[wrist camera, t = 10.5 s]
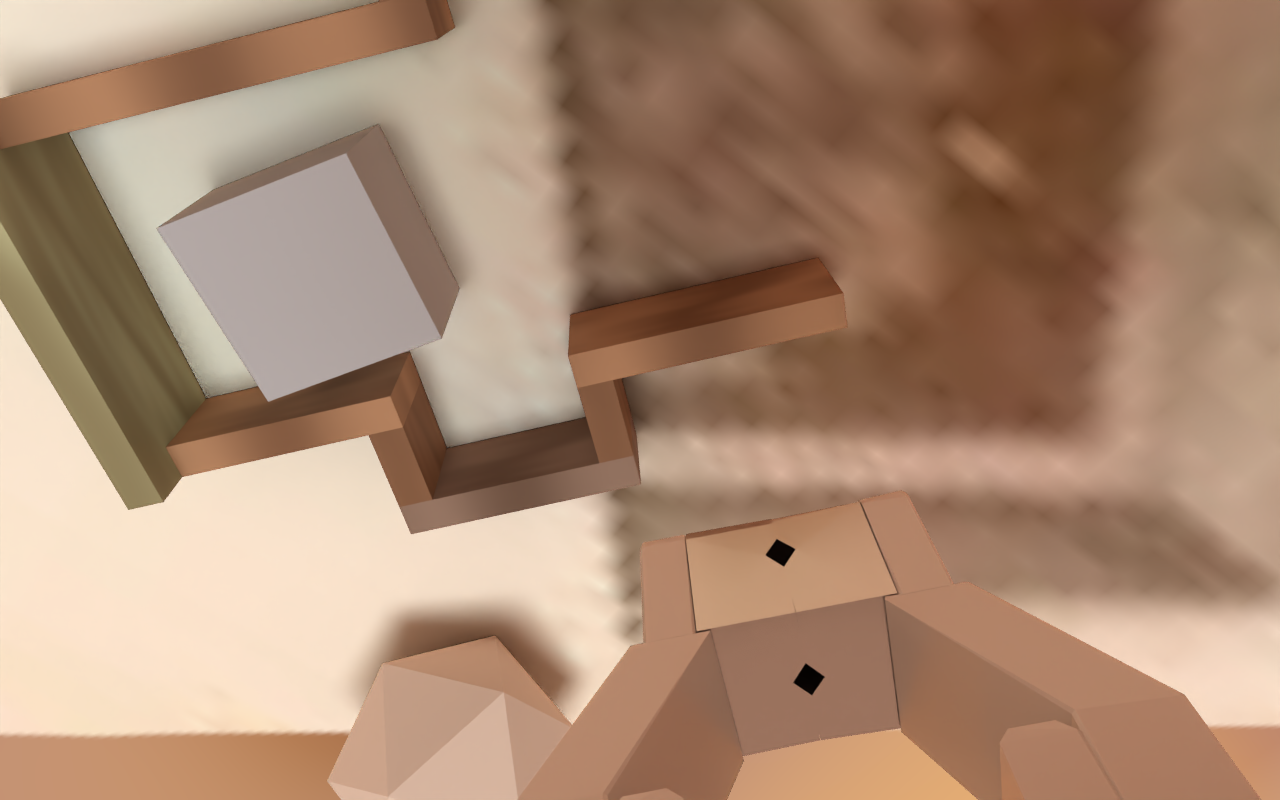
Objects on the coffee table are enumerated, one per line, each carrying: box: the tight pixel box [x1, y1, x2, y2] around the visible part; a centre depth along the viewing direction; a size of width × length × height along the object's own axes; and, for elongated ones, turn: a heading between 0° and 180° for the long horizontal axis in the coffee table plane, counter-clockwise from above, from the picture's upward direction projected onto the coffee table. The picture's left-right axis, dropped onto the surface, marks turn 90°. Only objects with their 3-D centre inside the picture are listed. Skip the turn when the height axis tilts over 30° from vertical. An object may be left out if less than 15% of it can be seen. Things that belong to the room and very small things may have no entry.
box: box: [0, 0, 847, 534], centre depth 27 cm, size 24×21×5 cm
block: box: [156, 124, 460, 402], centre depth 28 cm, size 6×6×4 cm
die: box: [328, 636, 572, 800], centre depth 36 cm, size 8×9×10 cm
